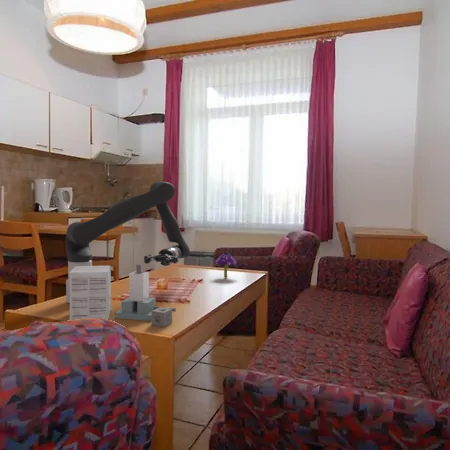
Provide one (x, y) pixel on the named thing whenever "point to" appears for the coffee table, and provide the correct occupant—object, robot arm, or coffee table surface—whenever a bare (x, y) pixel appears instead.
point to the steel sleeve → (138, 286)
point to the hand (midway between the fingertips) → (155, 261)
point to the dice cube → (161, 317)
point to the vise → (138, 306)
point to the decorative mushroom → (226, 261)
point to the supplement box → (90, 292)
